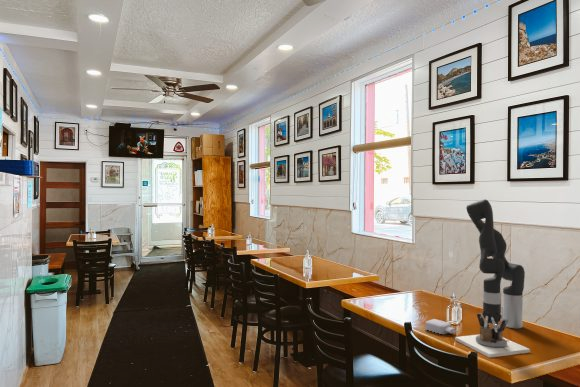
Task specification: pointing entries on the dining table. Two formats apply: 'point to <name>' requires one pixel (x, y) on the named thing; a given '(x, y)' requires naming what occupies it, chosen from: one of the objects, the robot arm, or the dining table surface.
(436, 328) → the grey elongated piece
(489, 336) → the dial
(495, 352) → the dial plate
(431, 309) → the dining table surface
